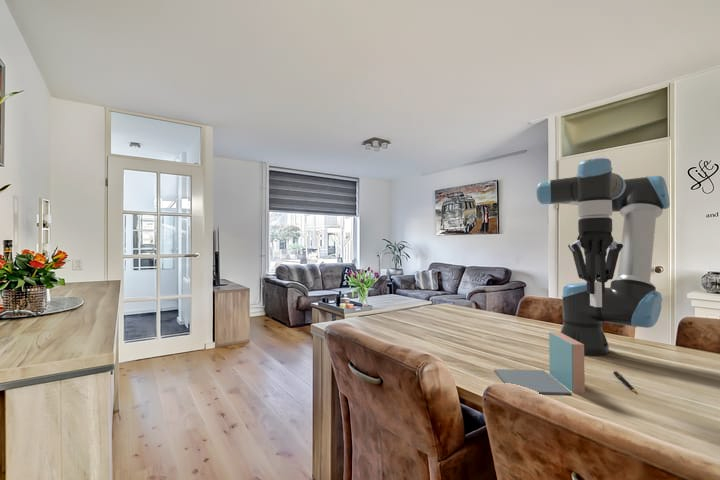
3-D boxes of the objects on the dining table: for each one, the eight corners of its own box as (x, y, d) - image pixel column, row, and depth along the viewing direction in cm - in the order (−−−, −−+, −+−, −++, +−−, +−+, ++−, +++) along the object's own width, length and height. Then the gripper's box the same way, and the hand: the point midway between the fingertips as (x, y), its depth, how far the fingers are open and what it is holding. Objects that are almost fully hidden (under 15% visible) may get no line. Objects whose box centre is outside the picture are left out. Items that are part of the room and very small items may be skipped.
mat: (543, 372, 100) (543, 370, 100) (571, 394, 85) (571, 392, 85) (494, 370, 101) (493, 369, 101) (512, 393, 86) (512, 391, 86)
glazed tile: (560, 374, 98) (559, 332, 98) (584, 392, 86) (584, 344, 86) (549, 374, 98) (549, 332, 98) (572, 392, 86) (571, 344, 86)
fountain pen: (638, 395, 85) (638, 389, 85) (633, 394, 85) (632, 388, 85) (616, 374, 98) (616, 369, 98) (611, 373, 99) (611, 368, 99)
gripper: (611, 218, 95) (612, 304, 95) (562, 219, 96) (563, 303, 96) (630, 216, 88) (631, 309, 87) (577, 216, 89) (578, 308, 88)
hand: (595, 306), depth 91 cm, fingers closed
